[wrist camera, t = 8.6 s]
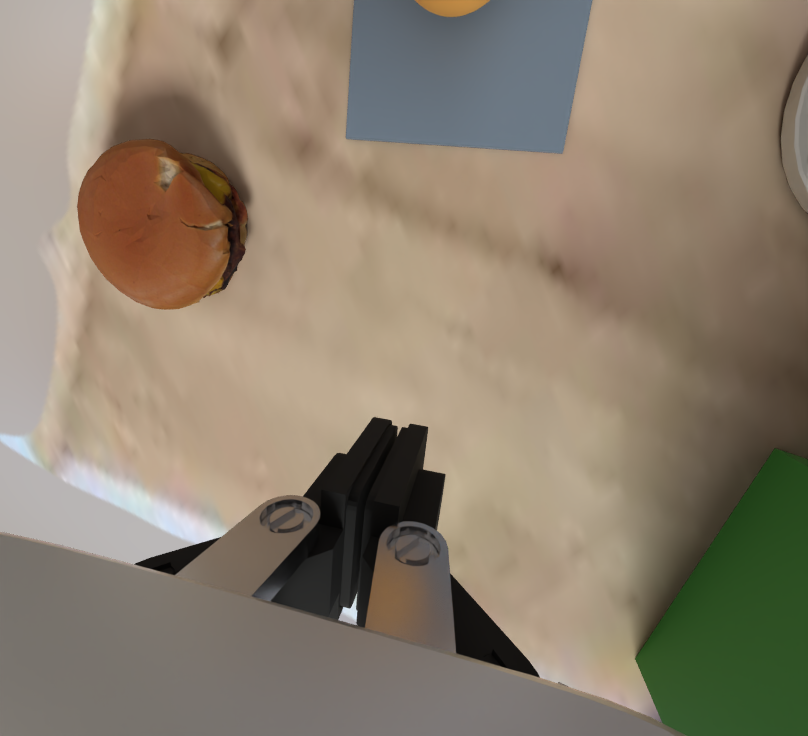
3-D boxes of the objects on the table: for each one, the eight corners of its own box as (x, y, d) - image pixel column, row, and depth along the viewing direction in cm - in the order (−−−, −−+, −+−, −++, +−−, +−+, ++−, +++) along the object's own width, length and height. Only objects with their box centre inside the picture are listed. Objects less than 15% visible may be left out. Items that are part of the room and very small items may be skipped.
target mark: (363, -131, 19) (362, -135, 19) (618, -139, 17) (620, -144, 17) (347, 139, 22) (345, 137, 22) (561, 153, 20) (562, 152, 20)
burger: (113, 270, 27) (42, 270, 22) (137, 130, 24) (62, 98, 20) (238, 326, 26) (192, 337, 22) (277, 190, 24) (232, 170, 19)
